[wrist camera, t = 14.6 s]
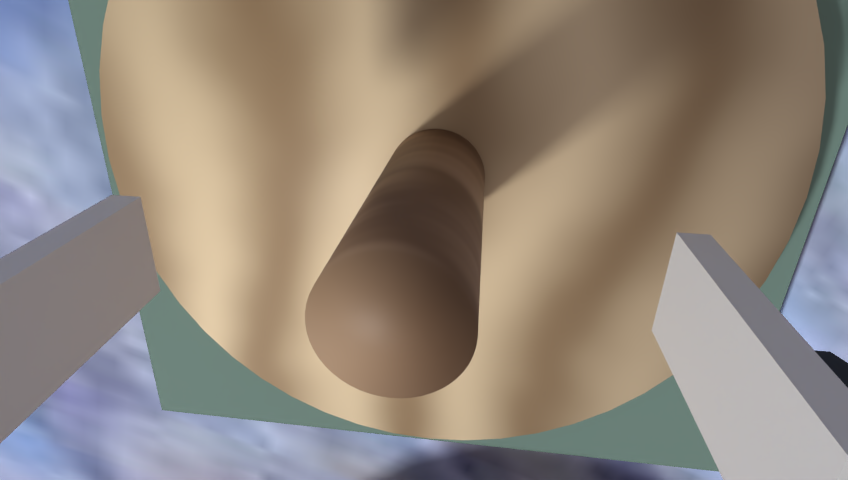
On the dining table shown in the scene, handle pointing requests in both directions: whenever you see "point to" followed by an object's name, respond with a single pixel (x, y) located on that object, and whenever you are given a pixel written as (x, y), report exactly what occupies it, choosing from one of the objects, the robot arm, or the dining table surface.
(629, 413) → the mat
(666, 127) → the lid
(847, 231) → the dining table surface
